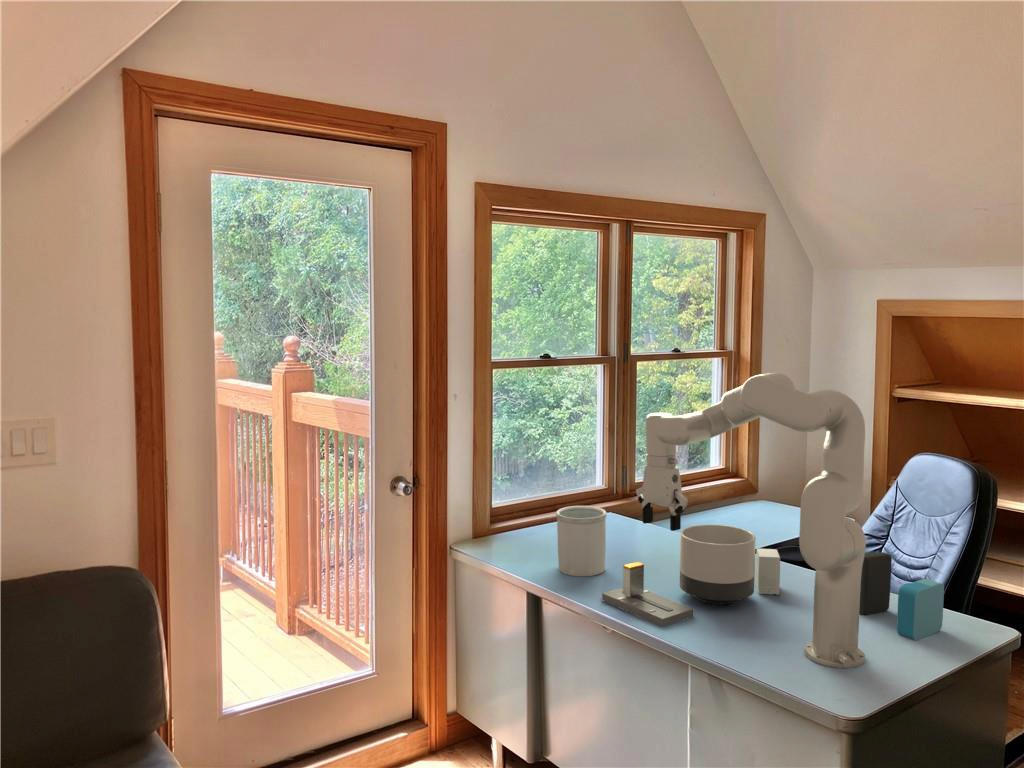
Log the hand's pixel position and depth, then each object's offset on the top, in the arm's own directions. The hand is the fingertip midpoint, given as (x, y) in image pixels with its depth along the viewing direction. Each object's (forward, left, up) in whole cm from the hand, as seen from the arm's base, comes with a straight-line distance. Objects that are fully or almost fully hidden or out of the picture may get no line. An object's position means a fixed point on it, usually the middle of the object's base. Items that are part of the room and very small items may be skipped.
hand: (661, 526), depth 216 cm
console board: (-2, +4, -21) cm, 22 cm away
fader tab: (+2, +7, -19) cm, 20 cm away
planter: (+4, -16, -21) cm, 27 cm away
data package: (-21, -58, -21) cm, 65 cm away
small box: (+10, -32, -21) cm, 40 cm away
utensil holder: (+30, +17, -21) cm, 40 cm away
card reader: (-7, -53, -21) cm, 58 cm away
